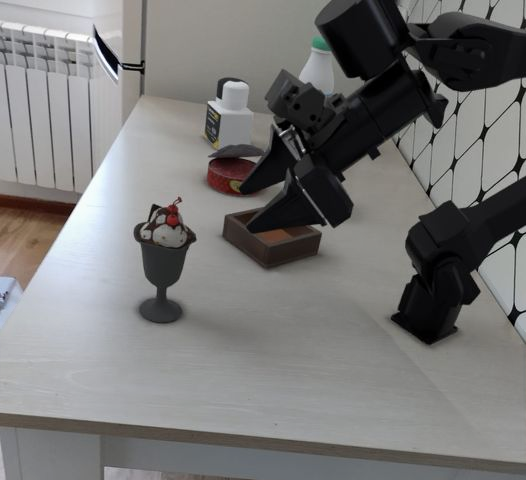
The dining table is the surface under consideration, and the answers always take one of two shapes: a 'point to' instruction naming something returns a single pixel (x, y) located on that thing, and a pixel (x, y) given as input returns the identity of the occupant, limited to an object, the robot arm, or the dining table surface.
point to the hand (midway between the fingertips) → (244, 209)
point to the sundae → (163, 258)
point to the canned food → (231, 168)
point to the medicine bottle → (229, 114)
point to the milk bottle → (319, 68)
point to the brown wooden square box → (270, 240)
